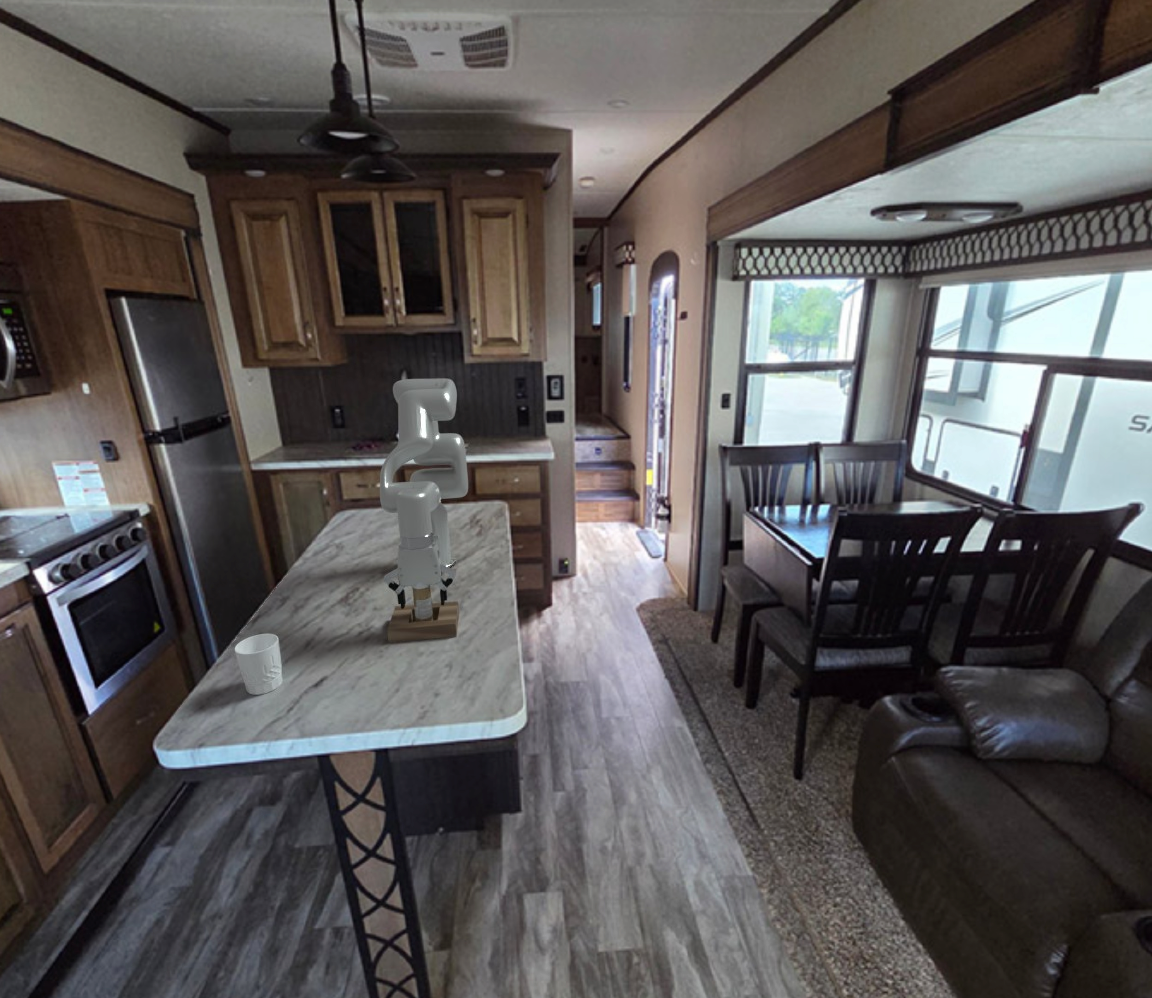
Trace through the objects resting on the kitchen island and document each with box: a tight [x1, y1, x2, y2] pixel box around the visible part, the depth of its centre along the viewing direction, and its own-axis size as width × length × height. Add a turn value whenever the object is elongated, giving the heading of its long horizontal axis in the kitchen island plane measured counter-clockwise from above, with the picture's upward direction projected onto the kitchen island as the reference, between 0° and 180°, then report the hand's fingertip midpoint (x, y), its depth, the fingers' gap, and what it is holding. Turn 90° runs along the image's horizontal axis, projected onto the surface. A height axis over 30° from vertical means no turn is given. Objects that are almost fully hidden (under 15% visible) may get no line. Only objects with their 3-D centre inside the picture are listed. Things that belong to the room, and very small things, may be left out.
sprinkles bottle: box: [411, 583, 434, 622], centre depth 135 cm, size 5×5×13 cm
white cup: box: [234, 633, 284, 696], centre depth 113 cm, size 8×8×10 cm
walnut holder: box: [386, 600, 460, 643], centre depth 136 cm, size 12×16×4 cm
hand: (423, 604), depth 135 cm, fingers open, 9 cm apart
